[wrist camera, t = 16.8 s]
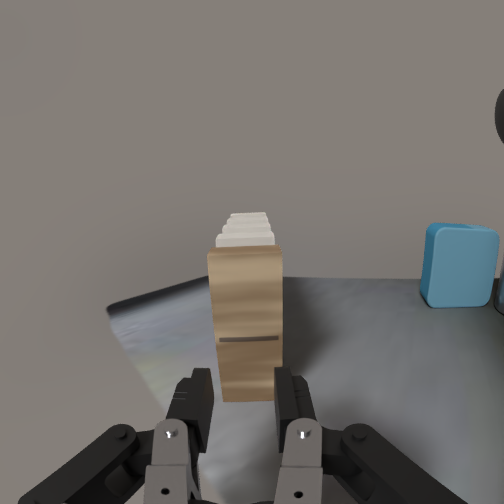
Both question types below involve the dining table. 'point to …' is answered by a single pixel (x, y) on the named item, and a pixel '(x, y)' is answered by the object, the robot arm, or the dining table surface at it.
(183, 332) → the dining table surface
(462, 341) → the dining table surface
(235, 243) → the tile
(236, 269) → the tile
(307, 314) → the dining table surface
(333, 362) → the dining table surface
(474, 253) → the data package
